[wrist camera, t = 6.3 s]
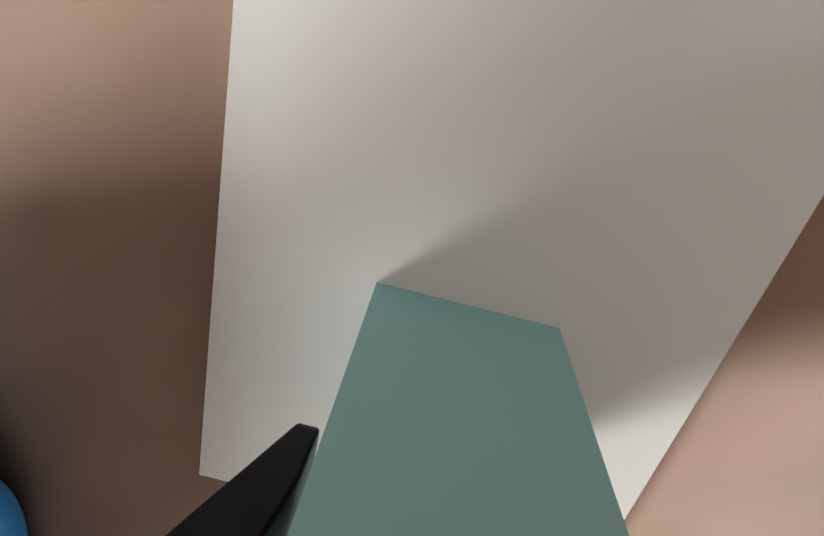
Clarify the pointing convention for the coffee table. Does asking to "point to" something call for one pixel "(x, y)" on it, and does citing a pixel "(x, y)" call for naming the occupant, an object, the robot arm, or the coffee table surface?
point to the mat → (508, 194)
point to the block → (456, 431)
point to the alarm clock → (11, 514)
